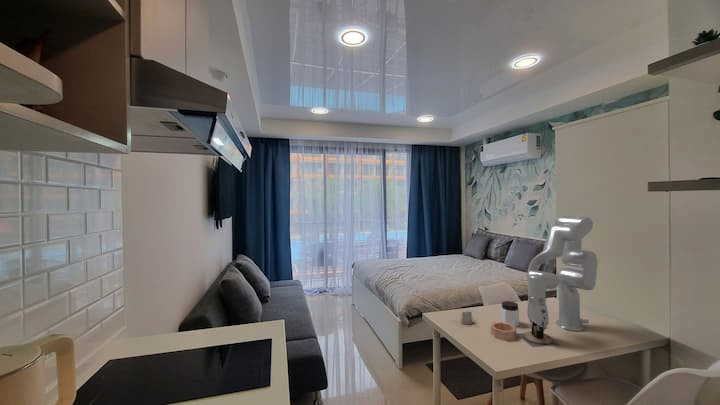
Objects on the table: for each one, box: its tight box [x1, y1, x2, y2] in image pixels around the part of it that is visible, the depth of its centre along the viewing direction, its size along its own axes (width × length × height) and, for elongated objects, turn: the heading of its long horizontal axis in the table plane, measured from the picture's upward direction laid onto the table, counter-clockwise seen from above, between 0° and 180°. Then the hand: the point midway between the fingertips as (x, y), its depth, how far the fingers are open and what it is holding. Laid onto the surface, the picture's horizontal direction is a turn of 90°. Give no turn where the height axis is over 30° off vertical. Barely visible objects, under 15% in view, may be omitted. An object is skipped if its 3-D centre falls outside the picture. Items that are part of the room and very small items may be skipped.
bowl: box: [490, 321, 517, 342], centre depth 158 cm, size 11×11×5 cm
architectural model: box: [459, 310, 474, 325], centre depth 176 cm, size 3×7×7 cm, turn 95°
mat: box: [516, 332, 561, 348], centre depth 153 cm, size 14×14×1 cm
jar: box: [500, 300, 520, 328], centre depth 171 cm, size 9×8×12 cm
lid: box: [524, 325, 553, 345], centre depth 153 cm, size 12×12×6 cm
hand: (537, 336), depth 153 cm, fingers closed on lid, 3 cm apart
